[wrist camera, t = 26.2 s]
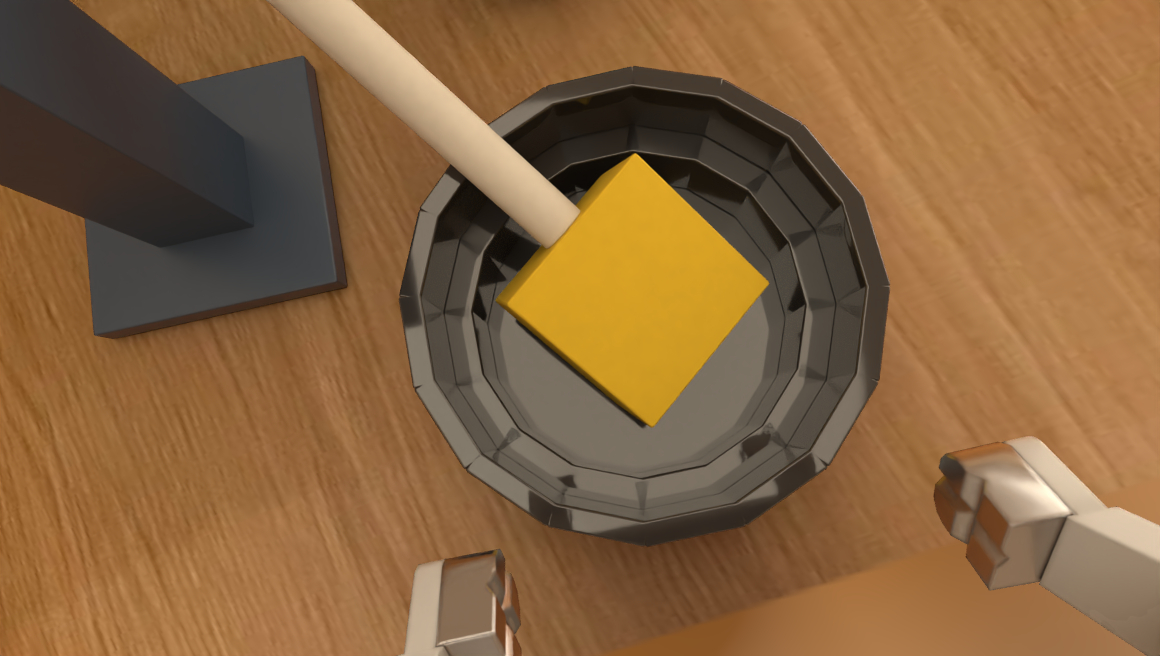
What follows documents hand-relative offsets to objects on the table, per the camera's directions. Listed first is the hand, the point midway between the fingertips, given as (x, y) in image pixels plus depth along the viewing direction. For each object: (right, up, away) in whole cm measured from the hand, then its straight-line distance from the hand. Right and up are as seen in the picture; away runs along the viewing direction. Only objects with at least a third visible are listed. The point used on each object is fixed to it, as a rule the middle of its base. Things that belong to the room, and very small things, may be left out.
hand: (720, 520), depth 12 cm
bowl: (0, +4, +13) cm, 14 cm away
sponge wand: (-5, +9, +6) cm, 12 cm away
